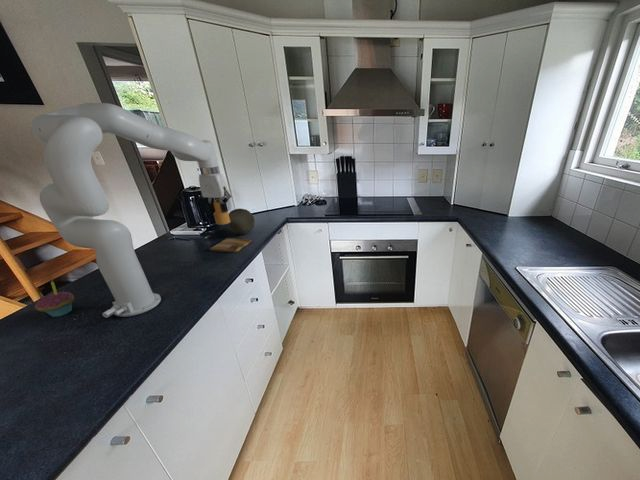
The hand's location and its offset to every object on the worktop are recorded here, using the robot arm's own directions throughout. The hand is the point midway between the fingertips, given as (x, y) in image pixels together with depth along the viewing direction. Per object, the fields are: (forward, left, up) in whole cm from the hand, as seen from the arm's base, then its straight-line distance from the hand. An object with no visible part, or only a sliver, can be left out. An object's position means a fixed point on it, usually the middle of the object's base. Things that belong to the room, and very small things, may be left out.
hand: (220, 211), depth 127 cm
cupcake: (-53, +26, -21) cm, 62 cm away
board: (+6, +4, -21) cm, 22 cm away
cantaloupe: (+22, +7, -21) cm, 31 cm away
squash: (0, 0, -6) cm, 6 cm away
